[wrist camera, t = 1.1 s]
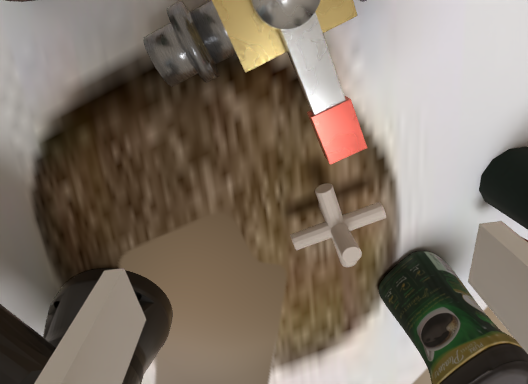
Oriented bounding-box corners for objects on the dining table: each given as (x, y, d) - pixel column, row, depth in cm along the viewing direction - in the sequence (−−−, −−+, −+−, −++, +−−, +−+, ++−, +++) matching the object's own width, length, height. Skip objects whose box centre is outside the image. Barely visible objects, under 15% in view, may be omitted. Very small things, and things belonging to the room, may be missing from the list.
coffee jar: (404, 309, 48) (493, 456, 31) (367, 287, 45) (441, 432, 29) (456, 266, 45) (584, 402, 28) (418, 239, 42) (535, 371, 26)
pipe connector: (300, 249, 42) (317, 308, 33) (273, 185, 38) (283, 232, 29) (374, 222, 41) (413, 275, 32) (355, 153, 37) (393, 191, 28)
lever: (238, -28, 21) (238, -33, 19) (301, -63, 20) (306, -71, 19) (316, 160, 27) (321, 168, 25) (367, 137, 26) (375, 143, 25)
